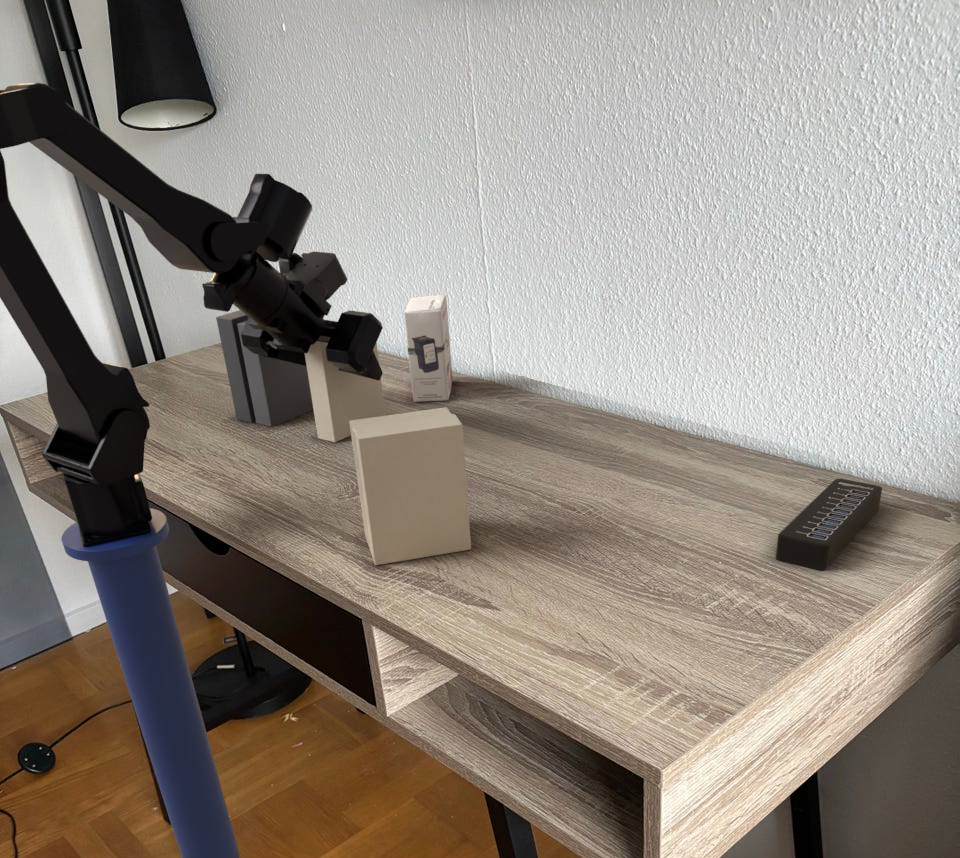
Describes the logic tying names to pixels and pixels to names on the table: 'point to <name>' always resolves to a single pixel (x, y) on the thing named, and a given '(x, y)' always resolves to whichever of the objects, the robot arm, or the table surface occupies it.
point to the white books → (412, 484)
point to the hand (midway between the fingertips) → (352, 371)
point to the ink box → (429, 348)
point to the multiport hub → (828, 524)
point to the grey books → (261, 379)
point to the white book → (340, 395)
